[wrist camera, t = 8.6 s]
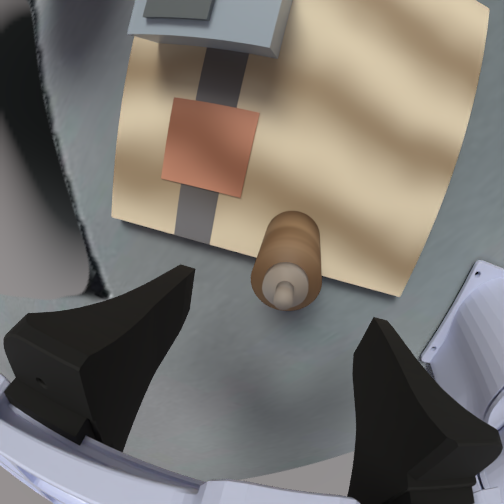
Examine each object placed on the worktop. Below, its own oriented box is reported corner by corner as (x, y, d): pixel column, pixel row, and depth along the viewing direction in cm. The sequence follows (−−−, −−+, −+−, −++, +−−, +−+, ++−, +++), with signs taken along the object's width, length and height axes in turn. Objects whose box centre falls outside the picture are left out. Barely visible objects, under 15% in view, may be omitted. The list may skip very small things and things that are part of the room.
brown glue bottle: (310, 266, 20) (308, 339, 14) (260, 252, 20) (237, 320, 14) (326, 219, 18) (333, 280, 12) (273, 204, 19) (253, 257, 12)
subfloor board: (396, 287, 21) (400, 297, 20) (120, 211, 22) (110, 217, 21) (481, 12, 12) (490, 8, 10) (172, -61, 13) (165, -68, 11)
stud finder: (277, 58, 15) (268, 46, 11) (158, 43, 15) (122, 32, 12) (295, -12, 13) (291, -40, 9) (175, -23, 13) (145, -45, 10)
